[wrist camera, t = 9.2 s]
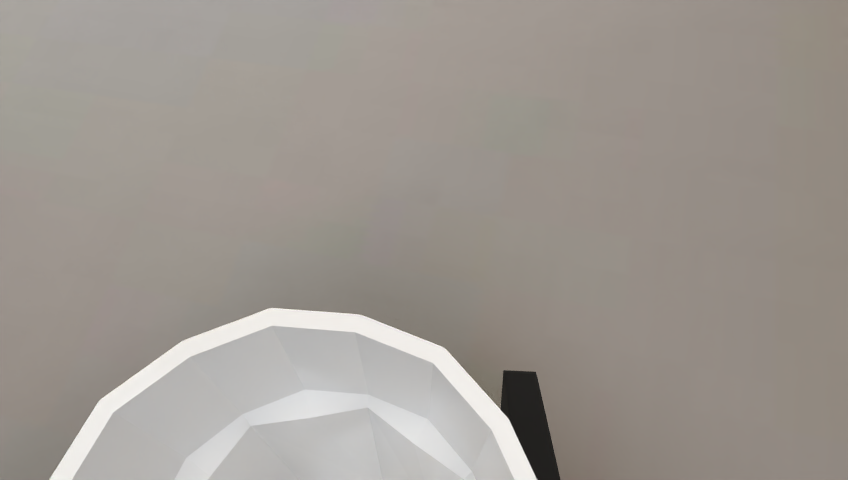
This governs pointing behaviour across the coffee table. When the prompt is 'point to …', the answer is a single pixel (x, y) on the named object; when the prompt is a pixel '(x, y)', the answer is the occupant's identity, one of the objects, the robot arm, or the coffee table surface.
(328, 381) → the cup
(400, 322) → the coffee table surface
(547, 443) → the robot arm
